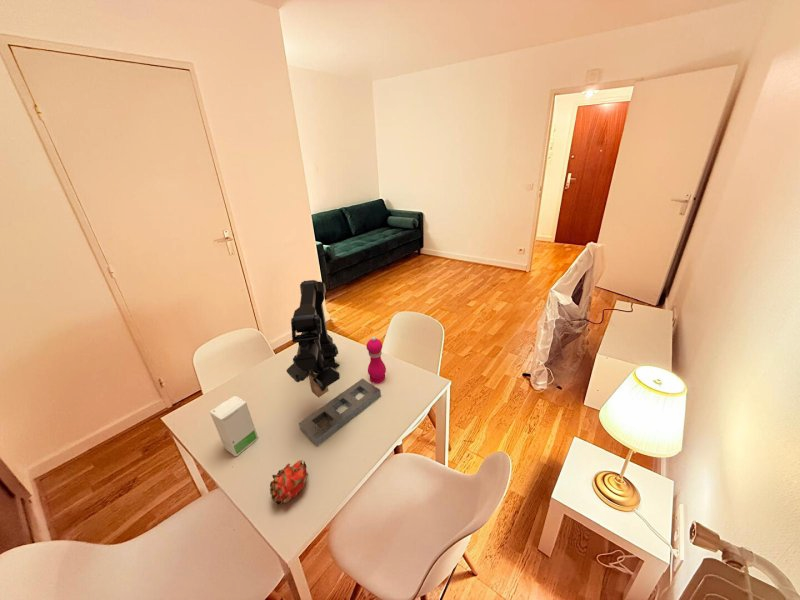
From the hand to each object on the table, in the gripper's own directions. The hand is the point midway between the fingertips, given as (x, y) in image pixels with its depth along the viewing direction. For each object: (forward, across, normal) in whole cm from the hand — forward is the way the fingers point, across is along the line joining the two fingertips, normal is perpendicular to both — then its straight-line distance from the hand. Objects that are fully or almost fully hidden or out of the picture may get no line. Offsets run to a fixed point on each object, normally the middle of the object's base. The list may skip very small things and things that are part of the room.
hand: (319, 387), depth 99 cm
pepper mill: (+12, 0, +25) cm, 27 cm away
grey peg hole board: (+12, +4, +5) cm, 13 cm away
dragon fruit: (+12, +16, -21) cm, 29 cm away
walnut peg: (+2, 0, 0) cm, 2 cm away
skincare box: (+12, -10, -25) cm, 29 cm away
